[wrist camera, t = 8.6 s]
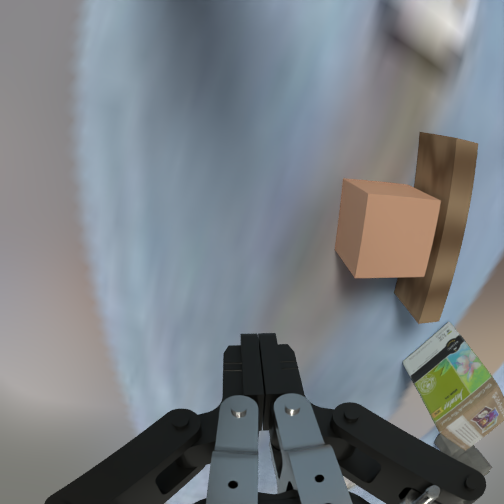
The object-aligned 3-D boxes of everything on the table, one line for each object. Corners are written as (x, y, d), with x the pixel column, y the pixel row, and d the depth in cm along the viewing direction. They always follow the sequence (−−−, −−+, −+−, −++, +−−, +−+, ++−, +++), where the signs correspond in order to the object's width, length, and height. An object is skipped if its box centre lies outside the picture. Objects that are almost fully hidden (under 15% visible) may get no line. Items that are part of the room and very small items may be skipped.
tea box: (398, 362, 43) (438, 434, 30) (448, 318, 41) (501, 383, 27) (432, 394, 48) (465, 453, 34) (473, 359, 45) (514, 413, 32)
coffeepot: (477, 418, 55) (507, 470, 39) (453, 442, 58) (479, 493, 42) (440, 420, 52) (473, 483, 36) (414, 446, 56) (440, 507, 39)
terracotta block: (342, 178, 32) (368, 193, 26) (407, 184, 33) (440, 200, 26) (334, 249, 35) (354, 278, 29) (396, 250, 36) (424, 276, 30)
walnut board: (419, 132, 30) (456, 138, 24) (440, 136, 30) (478, 143, 24) (394, 292, 38) (418, 323, 32) (413, 291, 38) (438, 321, 32)
